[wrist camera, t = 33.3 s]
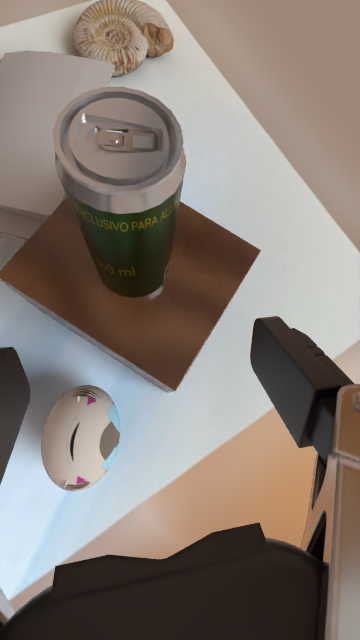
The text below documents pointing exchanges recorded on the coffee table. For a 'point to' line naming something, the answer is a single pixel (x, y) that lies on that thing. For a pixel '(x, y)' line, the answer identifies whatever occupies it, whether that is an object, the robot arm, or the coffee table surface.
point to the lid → (140, 312)
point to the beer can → (122, 183)
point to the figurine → (80, 438)
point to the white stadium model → (36, 131)
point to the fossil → (121, 34)
